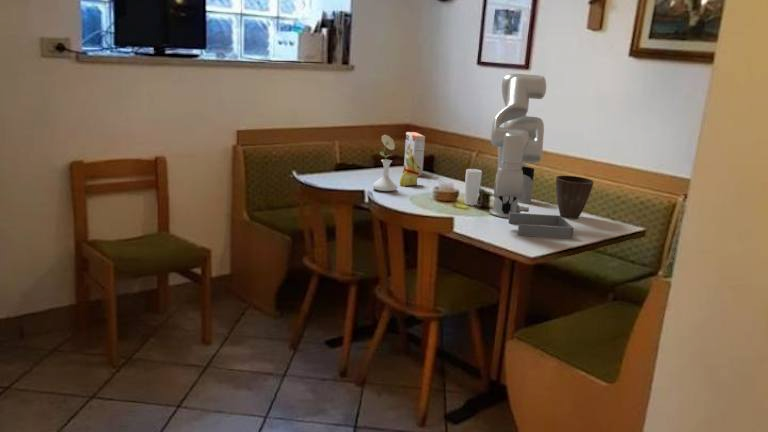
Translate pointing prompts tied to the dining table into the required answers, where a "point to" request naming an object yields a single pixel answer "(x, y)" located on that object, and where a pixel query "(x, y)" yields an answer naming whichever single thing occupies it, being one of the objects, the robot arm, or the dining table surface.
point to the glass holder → (527, 185)
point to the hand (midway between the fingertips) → (505, 212)
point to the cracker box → (415, 148)
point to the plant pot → (572, 195)
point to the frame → (554, 229)
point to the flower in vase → (386, 168)
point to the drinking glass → (472, 186)
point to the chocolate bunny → (410, 172)
